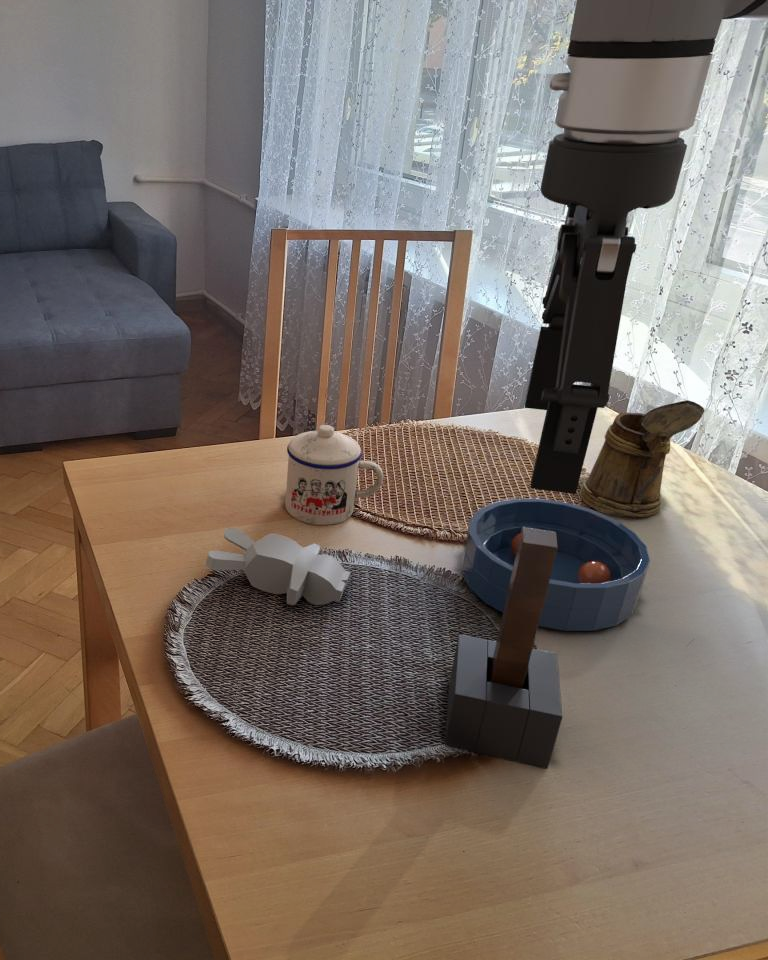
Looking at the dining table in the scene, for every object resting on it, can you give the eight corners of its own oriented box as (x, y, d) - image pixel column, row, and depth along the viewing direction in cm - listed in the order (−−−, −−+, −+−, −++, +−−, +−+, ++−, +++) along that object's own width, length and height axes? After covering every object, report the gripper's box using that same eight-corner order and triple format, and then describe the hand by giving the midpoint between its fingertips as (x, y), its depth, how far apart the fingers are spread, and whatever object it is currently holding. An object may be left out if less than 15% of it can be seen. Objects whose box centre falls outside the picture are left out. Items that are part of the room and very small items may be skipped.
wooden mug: (605, 537, 103) (644, 400, 94) (570, 482, 115) (602, 355, 106) (685, 541, 102) (732, 402, 93) (642, 485, 113) (680, 357, 105)
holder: (543, 703, 79) (557, 653, 76) (547, 769, 73) (562, 716, 70) (449, 683, 82) (458, 634, 79) (444, 745, 75) (454, 693, 72)
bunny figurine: (338, 594, 88) (203, 548, 93) (328, 631, 91) (198, 585, 96) (359, 547, 96) (233, 507, 101) (349, 583, 98) (227, 542, 103)
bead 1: (537, 553, 100) (543, 529, 98) (538, 567, 97) (544, 544, 95) (508, 548, 101) (513, 525, 99) (508, 563, 98) (513, 539, 96)
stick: (510, 717, 78) (556, 531, 68) (510, 736, 76) (557, 548, 66) (480, 711, 79) (522, 526, 69) (480, 730, 77) (522, 542, 67)
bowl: (624, 556, 99) (637, 511, 97) (645, 650, 85) (661, 602, 82) (463, 531, 105) (471, 488, 102) (457, 616, 91) (466, 569, 88)
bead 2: (605, 582, 94) (612, 558, 93) (608, 599, 92) (616, 574, 90) (573, 577, 95) (580, 553, 94) (575, 593, 93) (582, 569, 91)
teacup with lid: (280, 523, 108) (285, 440, 102) (285, 488, 116) (291, 409, 110) (379, 533, 105) (390, 448, 100) (377, 496, 113) (388, 416, 108)
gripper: (542, 110, 64) (492, 377, 74) (564, 165, 43) (491, 522, 54) (656, 110, 61) (589, 386, 71) (737, 168, 41) (626, 542, 51)
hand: (547, 445), depth 63 cm, fingers open, 13 cm apart
